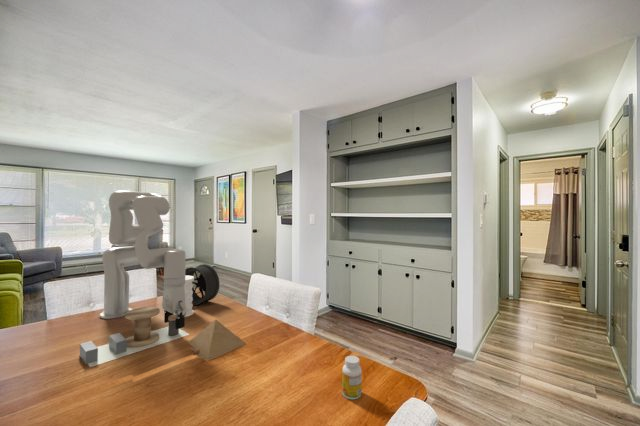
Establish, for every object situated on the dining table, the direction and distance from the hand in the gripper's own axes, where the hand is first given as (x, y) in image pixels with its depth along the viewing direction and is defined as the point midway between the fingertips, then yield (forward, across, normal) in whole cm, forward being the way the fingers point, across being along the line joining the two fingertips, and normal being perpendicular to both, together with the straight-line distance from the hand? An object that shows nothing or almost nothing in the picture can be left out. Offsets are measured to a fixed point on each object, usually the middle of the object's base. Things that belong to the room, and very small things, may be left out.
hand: (174, 324), depth 111 cm
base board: (+5, -2, -12) cm, 13 cm away
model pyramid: (+6, +18, +7) cm, 20 cm away
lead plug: (+4, 0, 0) cm, 4 cm away
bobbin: (+4, -3, -10) cm, 11 cm away
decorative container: (+5, -20, +12) cm, 24 cm away
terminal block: (+4, -2, -22) cm, 23 cm away
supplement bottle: (+6, +72, +17) cm, 74 cm away
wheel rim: (+5, -32, +27) cm, 42 cm away
